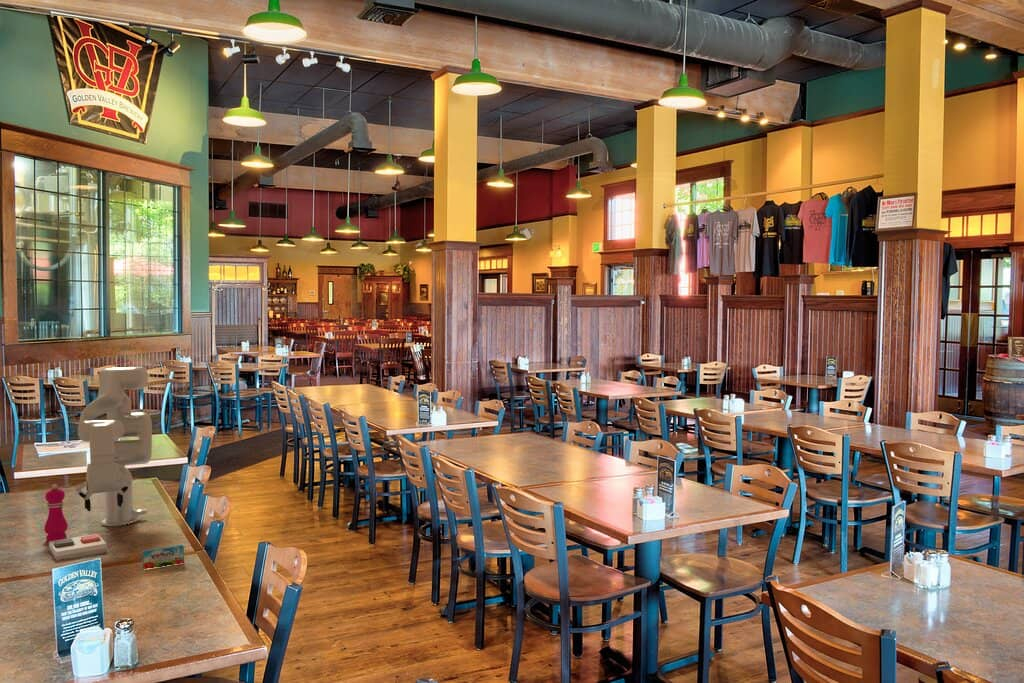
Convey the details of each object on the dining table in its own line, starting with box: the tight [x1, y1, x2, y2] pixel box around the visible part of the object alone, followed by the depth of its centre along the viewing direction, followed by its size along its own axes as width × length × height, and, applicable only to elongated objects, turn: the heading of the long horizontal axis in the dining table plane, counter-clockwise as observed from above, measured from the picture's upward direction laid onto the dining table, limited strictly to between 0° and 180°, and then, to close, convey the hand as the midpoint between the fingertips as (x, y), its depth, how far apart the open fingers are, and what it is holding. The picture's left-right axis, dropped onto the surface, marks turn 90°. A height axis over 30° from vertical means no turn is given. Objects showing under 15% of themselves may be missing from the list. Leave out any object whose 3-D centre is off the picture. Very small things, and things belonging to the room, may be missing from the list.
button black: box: [54, 537, 74, 548], centre depth 271 cm, size 5×5×2 cm
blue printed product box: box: [141, 544, 185, 570], centre depth 256 cm, size 12×2×6 cm, turn 120°
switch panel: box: [48, 533, 108, 561], centre depth 274 cm, size 15×15×3 cm
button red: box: [81, 533, 101, 544], centre depth 276 cm, size 5×5×2 cm
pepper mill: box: [44, 483, 69, 543], centre depth 287 cm, size 7×7×20 cm
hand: (104, 508), depth 279 cm, fingers open, 9 cm apart
